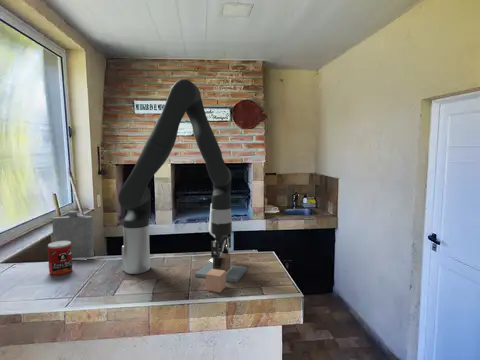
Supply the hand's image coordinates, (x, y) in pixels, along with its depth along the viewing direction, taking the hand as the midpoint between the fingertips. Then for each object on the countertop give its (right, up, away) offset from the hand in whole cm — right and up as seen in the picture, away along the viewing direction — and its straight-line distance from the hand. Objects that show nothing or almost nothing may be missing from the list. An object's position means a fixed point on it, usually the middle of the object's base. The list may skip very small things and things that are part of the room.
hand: (221, 264), depth 117 cm
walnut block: (0, -2, 0) cm, 2 cm away
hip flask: (-64, -2, +19) cm, 67 cm away
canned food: (-61, -4, +2) cm, 61 cm away
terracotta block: (-1, -5, -12) cm, 13 cm away
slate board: (0, -4, 0) cm, 4 cm away
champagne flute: (-3, -3, +14) cm, 14 cm away
